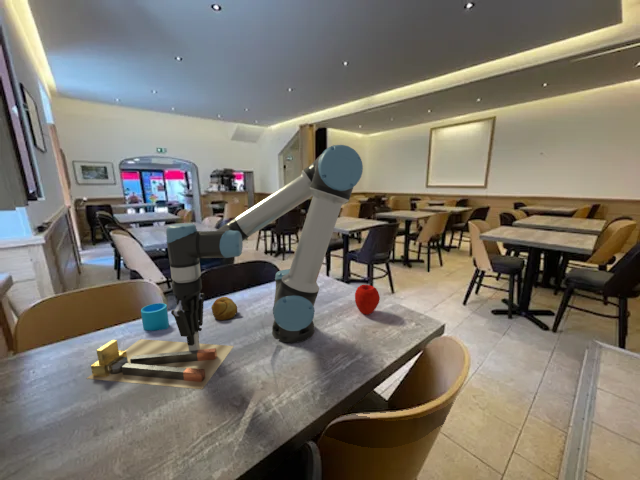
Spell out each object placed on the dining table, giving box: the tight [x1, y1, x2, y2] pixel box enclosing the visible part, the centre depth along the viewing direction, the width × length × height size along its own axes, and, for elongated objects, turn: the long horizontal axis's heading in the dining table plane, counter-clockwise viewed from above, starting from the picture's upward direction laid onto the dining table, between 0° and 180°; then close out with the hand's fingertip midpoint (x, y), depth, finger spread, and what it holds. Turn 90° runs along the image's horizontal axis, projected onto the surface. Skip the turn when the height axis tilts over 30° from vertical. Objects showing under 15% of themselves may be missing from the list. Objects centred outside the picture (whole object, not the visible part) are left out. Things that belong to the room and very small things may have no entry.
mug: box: [140, 302, 170, 332], centre depth 103 cm, size 12×8×8 cm
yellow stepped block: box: [90, 339, 127, 377], centre depth 77 cm, size 4×7×7 cm, turn 173°
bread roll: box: [210, 296, 238, 321], centre depth 111 cm, size 13×10×8 cm
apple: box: [354, 284, 381, 316], centre depth 112 cm, size 10×10×12 cm
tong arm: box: [130, 348, 217, 365], centre depth 80 cm, size 23×2×2 cm, turn 99°
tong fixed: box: [108, 357, 205, 382], centre depth 75 cm, size 28×4×2 cm, turn 83°
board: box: [86, 338, 235, 390], centre depth 81 cm, size 33×19×2 cm, turn 83°
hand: (194, 352), depth 83 cm, fingers closed
